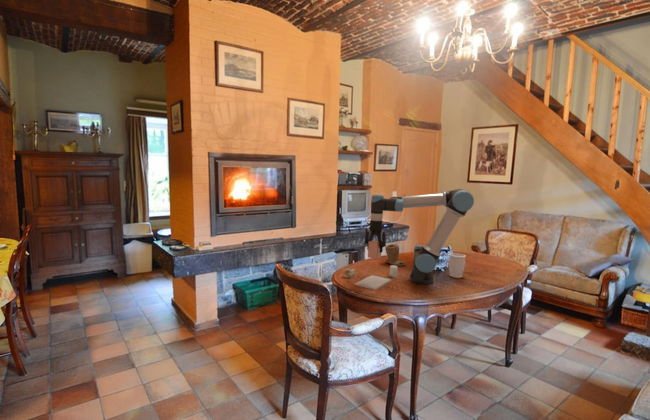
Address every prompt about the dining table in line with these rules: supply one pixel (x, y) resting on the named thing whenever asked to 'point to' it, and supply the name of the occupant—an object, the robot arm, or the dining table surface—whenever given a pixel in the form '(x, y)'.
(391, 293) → the dining table surface
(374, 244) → the coral block
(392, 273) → the off-white cylinder
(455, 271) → the jar
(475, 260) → the dining table surface
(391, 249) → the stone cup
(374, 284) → the grey mat
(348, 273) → the olive rounded lump
